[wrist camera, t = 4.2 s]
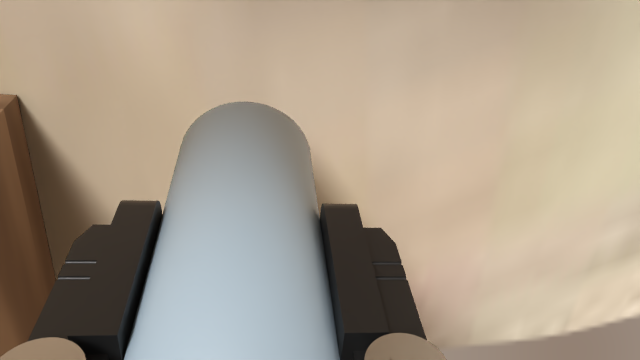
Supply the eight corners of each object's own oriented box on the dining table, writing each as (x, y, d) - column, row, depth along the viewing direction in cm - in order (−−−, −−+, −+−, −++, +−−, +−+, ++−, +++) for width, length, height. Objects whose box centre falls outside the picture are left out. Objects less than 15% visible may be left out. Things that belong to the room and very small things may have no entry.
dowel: (315, 104, 13) (401, 551, 5) (306, 214, 15) (358, 678, 7) (175, 99, 13) (15, 574, 5) (183, 213, 15) (78, 704, 6)
